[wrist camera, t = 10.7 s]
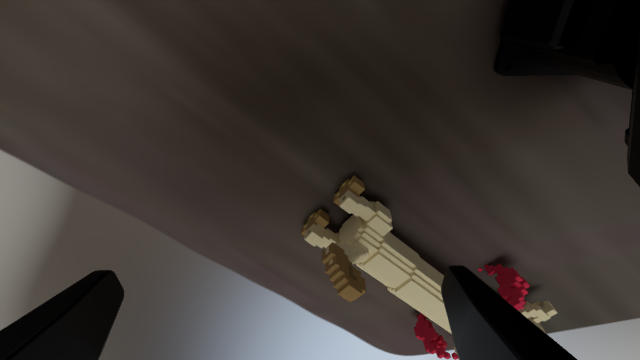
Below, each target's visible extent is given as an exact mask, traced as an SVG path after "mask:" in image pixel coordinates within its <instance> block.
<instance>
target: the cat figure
mask: <svg viewBox="0 0 640 360" xmlns="http://www.w3.org/2000/svg"><path fill="white" fill-rule="evenodd" d="M364 190H365V186H364V183H363V182H362V181H361V180H360V179H358V178H357V177H356V176H355V175H354V176H353V177H352V178H351V179H350V180H349V179H347V180H346V181H345V182H344V183H343V184H342V185H341V186H340V187H339V191H338V192H337V193H336V194H335V195H334V203H335V204H337V205H338V206H339V207H341V208H342V209H343V210H345V211H346V212H348V213H349V214H351V213H352V214H353V215H352V216H351V217H350V218H349V219H348V220H347V221H346V222H345V223H343V224H342V228H341V229H340V230H339V233H337V232H336V233H334V232H332V231H331V230H330V229H328V228H327V229H324V228H325V227H326V226H327V225H328V224H329V219H330V215H328V214H327V213H325V212H324V211H323V210H321V209H319V210H318V211H317V212H316V211H315V212H314V213H313V214H312V215H311V216H310V217H309V218H308V220H307V222H306V223H305V224H304V225H303V226H302V231H301V234H302V235H303V236H305V238H304V240H305V241H307V242H308V243H310V244H311V245H313V246H314V247H315V246H316V245H317V246H319V247H320V248H322V247H325V249H324V250H323V252H322V263H324V264H325V265H326V269H325V273H326V274H328V275H329V280H331V281H332V282H334V283H333V287H334V288H336V289H337V290H338V295H340V296H341V297H343V298H344V299H346V300H347V301H349V302H352V301H353V300H356V299H357V298H358V297H360V296H361V295H363V294H364V293H365V292H366V287H365V279H364V278H363V277H361V272H359V271H358V270H356V269H355V268H354V267H353V265H352V264H354V263H356V265H357V266H358V267H360V268H361V269H362V270H364V271H365V272H367V273H368V274H370V275H371V276H373V277H374V278H375V279H377V280H378V281H380V282H381V283H383V284H384V285H386V286H387V289H388V290H389V291H390V292H391V293H393V294H394V295H396V296H397V297H399V298H400V299H402V300H403V301H405V302H406V303H407V304H409V305H410V306H412V307H413V308H415V309H416V310H418V311H419V312H421V313H420V314H419V315H417V318H418V322H417V323H416V327H414V330H415V334H416V337H417V338H419V339H420V340H423V342H424V346H425V349H426V351H427V352H430V353H431V354H434V353H436V354H437V356H438V357H439V358H442V357H444V358H447V359H449V358H451V357H450V354H449V353H448V352H445V348H446V346H447V343H446V341H444V339H443V337H442V336H441V335H440V336H439V335H438V333H436V331H435V329H434V328H433V326H432V323H431V322H430V321H428V320H426V319H427V317H428V318H429V319H431V320H432V321H434V322H435V323H437V324H438V325H439V326H441V327H442V328H444V329H445V330H447V331H448V332H450V333H451V329H450V325H449V321H448V317H447V313H446V310H445V306H444V302H443V298H442V294H441V285H442V281H443V278H444V275H443V274H441V273H440V272H439V271H437V270H436V269H435V268H433V267H432V266H431V265H429V264H428V263H427V262H425V261H424V260H423V259H421V258H420V256H419V254H418V253H416V252H415V251H414V250H412V249H411V248H410V247H408V246H407V245H406V244H404V243H403V242H402V241H400V240H399V239H398V238H396V237H395V236H394V235H393V234H391V233H390V231H391V230H392V229H393V227H392V223H391V221H392V217H391V213H390V210H389V209H387V208H386V207H385V206H383V205H382V204H381V203H380V202H378V201H376V202H374V201H373V202H372V201H371V202H369V201H368V200H367V199H365V198H364V197H363V196H361V197H360V196H359V195H360V194H361V193H362V192H363V191H364ZM484 267H485V269H486V271H487V273H488V274H489V275H490V276H492V275H493V274H495V273H497V274H498V276H497V277H496V278H495V279H496V280H497V282H498V284H499V285H500V287H499V288H498V289H497V290H498V291H499V293H500V295H501V296H502V298H504V299H505V300H507V302H508V303H510V304H511V305H512V306H513V307H514V308H516V309H517V310H518V311H519V312H521V313H522V314H523V315H524V316H525V317H527V318H528V319H529V320H530V321H531V322H533V323H534V324H535V325H536V326H537V327H539V328H540V329H541V330H542V331H543V332H545V331H544V329H543V328H542V326H541V325H540V323H539V322H541V321H546V320H548V319H550V318H551V316H553V315H555V314H557V311H556V310H555V309H554V307H553V306H552V305H551V303H549V302H548V301H547V300H546V301H544V302H542V303H540V302H539V301H536V302H534V303H533V304H531V303H528V302H527V301H525V300H524V298H525V297H524V295H526V294H527V293H528V291H527V290H526V288H528V287H530V285H529V284H528V282H527V281H526V280H525V279H524V278H523V277H520V275H519V274H518V272H517V271H516V270H515V269H513V268H510V269H509V268H508V267H505V268H503V266H502V265H501V264H500V263H499V264H498V265H496V266H495V267H494V266H492V265H490V266H488V265H487V264H486V265H485V266H484ZM482 270H483V269H481V268H479V269H478V271H479V272H480V271H482ZM545 333H546V332H545ZM451 334H452V333H451ZM454 345H455V344H454ZM454 349H455V352H456V353H453V354H452V357H453V359H459V357H458V354H457V351H456V348H455V347H454Z"/></svg>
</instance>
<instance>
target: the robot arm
mask: <svg viewBox="0 0 640 360" xmlns="http://www.w3.org/2000/svg"><path fill="white" fill-rule="evenodd" d="M500 35H501V37H502V39H501V43H500V46H499V50H498V54H497V58H496V61H495V65H494V70H495V72H496V73H497V74H500V75H503V76H525V75H576V74H577V75H581V76H584V77H588V78H591V79H595V80H598V81H602V82H605V83H609V84H612V85H616V86H620V87H623V88H627V89H630V90H633V91H632V101H631V112H630V123H629V128H628V129H626V131H625V143H626V145H627V146H628V152H627V164H628V173H629V175H630V176H631V177H632V178H633V179H634V181H635V182H636V183H637V184H638V185H639V187H640V0H509V2H508V6H507V10H506V14H505V17H504V21H503V25H502V29H501V33H500ZM506 62H508V66H507V68H506V69H504V70H503V65H504V63H506ZM441 294H442V298H443V302H444V306H445V310H446V313H447V317H448V321H449V325H450V329H451V333H452V336H453V340H454V344H455V348H456V351H457V354H458V357H459V360H577V359H576V358H575V357H573V356H572V355H571V354H570V353H569V352H568V351H566V350H565V349H564V348H563V347H562V346H560V345H559V344H558V343H557V342H555V341H554V340H553V339H552V338H551V337H549V336H548V335H547V334H546V333H545V332H543V331H542V330H541V329H540V328H539V327H537V326H536V325H535V324H534V323H533V322H531V321H530V320H529V319H528V318H527V317H525V316H524V315H523V314H522V313H521V312H519V311H518V310H517V309H516V308H514V307H513V306H512V305H511V304H510V303H508V302H507V301H506V300H505V299H504V298H502V297H501V296H500V295H499V294H498V293H496V292H495V291H494V290H493V289H492V288H490V287H489V286H488V285H487V284H486V283H484V282H483V281H482V280H481V279H480V278H478V277H477V276H476V275H475V274H474V273H472V272H471V271H470V270H469V269H467V268H466V267H464V266H461V265H458V266H448V267H447V268H446V271H445V274H444V278H443V281H442V285H441ZM123 298H124V289H123V287H122V286H121V284H120V282H119V280H118V278H117V276H116V274H115V273H114V272H113V271H111V270H97V271H94V272H92V273H90V274H89V275H87V276H86V277H84V278H82V279H81V280H79V281H78V282H76V283H75V284H73V285H72V286H70V287H68V288H67V289H65V290H64V291H62V292H61V293H59V294H57V295H56V296H54V297H53V298H51V299H49V300H48V301H46V302H45V303H43V304H42V305H40V306H39V307H37V308H35V309H34V310H32V311H31V312H29V313H28V314H26V315H24V316H23V317H21V318H20V319H18V320H17V321H15V322H14V323H12V324H10V325H9V326H7V327H6V328H4V329H2V330H1V331H0V360H98V359H99V357H100V355H101V353H102V350H103V348H104V346H105V343H106V341H107V338H108V336H109V333H110V331H111V328H112V326H113V323H114V321H115V318H116V316H117V313H118V311H119V308H120V306H121V303H122V301H123Z"/></svg>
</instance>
